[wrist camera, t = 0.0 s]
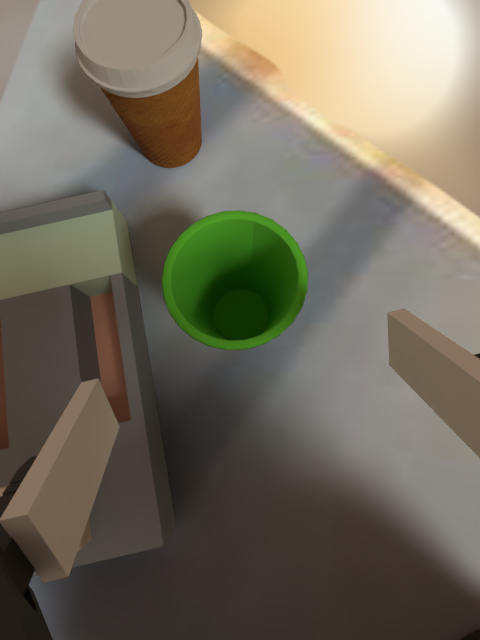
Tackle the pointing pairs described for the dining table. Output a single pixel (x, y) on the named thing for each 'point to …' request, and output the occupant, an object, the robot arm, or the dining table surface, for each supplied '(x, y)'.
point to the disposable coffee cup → (146, 70)
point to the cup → (234, 280)
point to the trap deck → (81, 360)
